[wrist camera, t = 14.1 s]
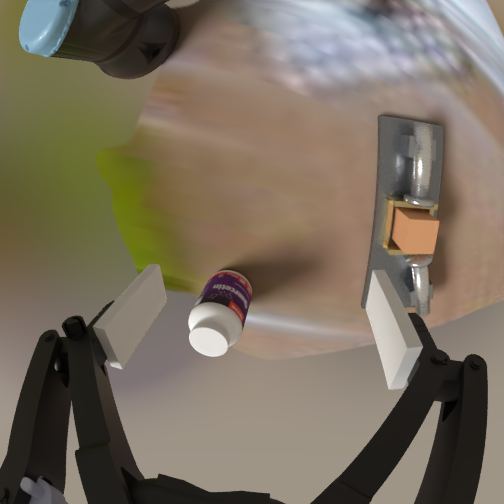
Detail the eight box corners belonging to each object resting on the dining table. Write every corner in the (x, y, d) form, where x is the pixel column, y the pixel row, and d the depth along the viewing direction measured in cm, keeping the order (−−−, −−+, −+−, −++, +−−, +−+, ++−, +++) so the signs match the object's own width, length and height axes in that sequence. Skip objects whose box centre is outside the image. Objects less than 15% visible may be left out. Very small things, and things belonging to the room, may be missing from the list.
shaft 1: (423, 198, 36) (439, 208, 31) (396, 195, 37) (410, 206, 32) (427, 126, 31) (445, 127, 26) (399, 121, 32) (415, 121, 27)
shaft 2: (398, 250, 40) (410, 267, 35) (423, 242, 39) (437, 257, 34) (405, 304, 44) (415, 324, 39) (427, 296, 43) (439, 314, 38)
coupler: (391, 237, 40) (404, 253, 34) (395, 206, 37) (409, 219, 32) (418, 238, 39) (433, 254, 33) (422, 208, 37) (439, 221, 31)
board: (377, 115, 33) (387, 114, 30) (440, 126, 32) (453, 126, 28) (360, 304, 47) (365, 318, 43) (413, 303, 45) (421, 316, 41)
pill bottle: (261, 283, 47) (249, 339, 35) (239, 313, 51) (222, 370, 38) (220, 259, 47) (193, 309, 34) (201, 291, 50) (173, 344, 37)
